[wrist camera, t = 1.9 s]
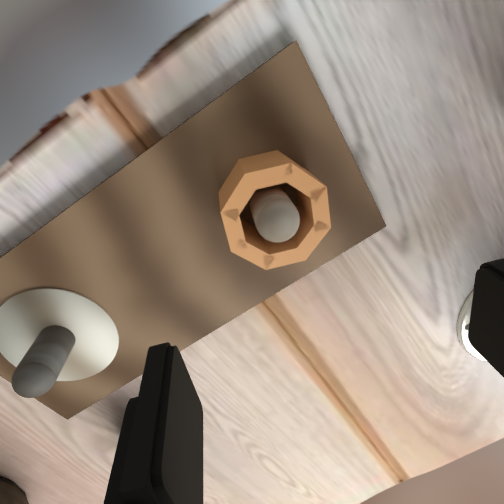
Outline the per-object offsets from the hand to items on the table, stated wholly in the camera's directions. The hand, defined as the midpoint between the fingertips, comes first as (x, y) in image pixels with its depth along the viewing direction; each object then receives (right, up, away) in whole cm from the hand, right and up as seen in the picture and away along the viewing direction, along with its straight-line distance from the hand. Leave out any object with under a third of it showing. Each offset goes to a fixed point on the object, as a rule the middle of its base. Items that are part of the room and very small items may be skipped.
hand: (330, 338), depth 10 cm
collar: (-1, +6, +13) cm, 14 cm away
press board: (-10, +2, +15) cm, 18 cm away
